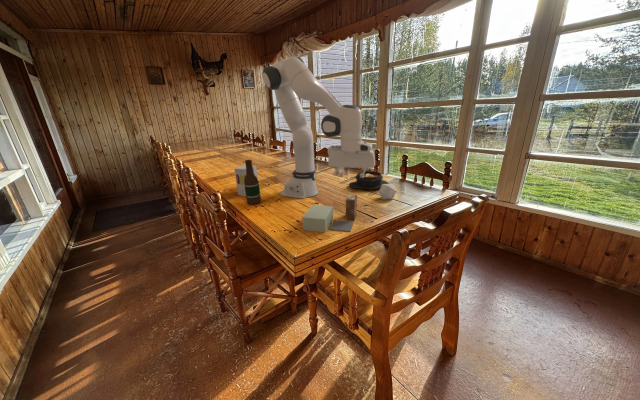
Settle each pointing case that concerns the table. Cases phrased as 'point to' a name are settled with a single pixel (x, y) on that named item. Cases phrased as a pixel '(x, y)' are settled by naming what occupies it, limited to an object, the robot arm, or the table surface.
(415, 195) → the table surface
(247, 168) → the beer bottle
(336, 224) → the mat
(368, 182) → the casserole
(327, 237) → the table surface
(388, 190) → the die
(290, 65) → the robot arm
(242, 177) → the supplement box
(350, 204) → the walnut block
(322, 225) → the step
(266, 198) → the table surface
